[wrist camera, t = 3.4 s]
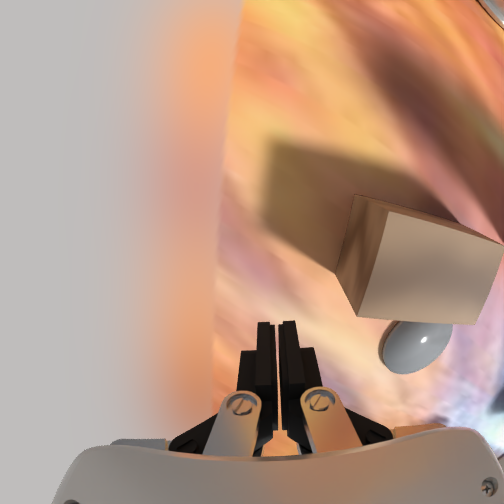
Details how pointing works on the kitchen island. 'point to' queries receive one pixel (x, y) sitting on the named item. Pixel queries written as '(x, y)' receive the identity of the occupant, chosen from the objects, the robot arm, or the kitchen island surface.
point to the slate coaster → (414, 345)
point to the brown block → (414, 265)
